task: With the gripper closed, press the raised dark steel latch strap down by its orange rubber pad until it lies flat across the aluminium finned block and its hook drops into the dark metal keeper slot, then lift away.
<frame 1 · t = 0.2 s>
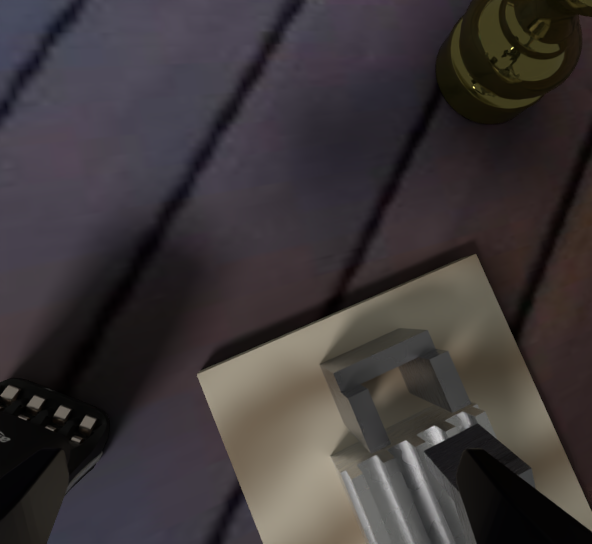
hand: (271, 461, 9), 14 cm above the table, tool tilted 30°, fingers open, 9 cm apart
base board: (417, 496, 23), on the table
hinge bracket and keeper: (457, 539, 19), on the base board, point 4 cm above the table
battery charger: (56, 412, 22), on the table
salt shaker: (480, 78, 27), on the table
finned block: (444, 525, 20), on the base board, point 3 cm above the table
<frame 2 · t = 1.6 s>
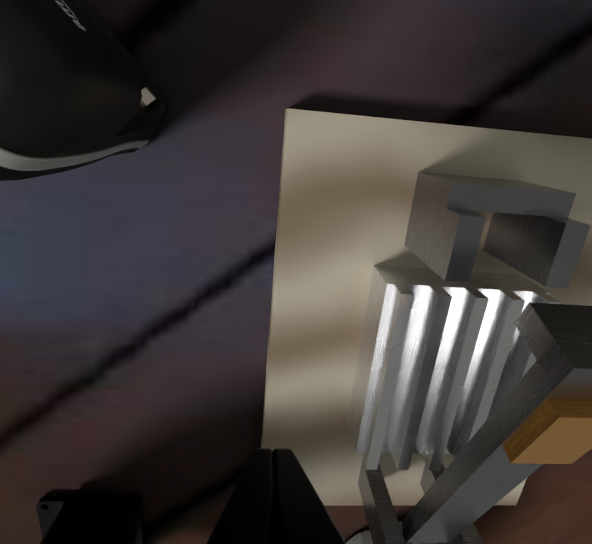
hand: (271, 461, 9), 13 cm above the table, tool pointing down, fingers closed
base board: (418, 338, 23), on the table
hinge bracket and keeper: (450, 386, 19), on the base board, point 4 cm above the table
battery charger: (109, 68, 17), on the table
latch strap: (477, 465, 17), point 8 cm above the table, hinge at 20.0°
finned block: (440, 370, 20), on the base board, point 3 cm above the table
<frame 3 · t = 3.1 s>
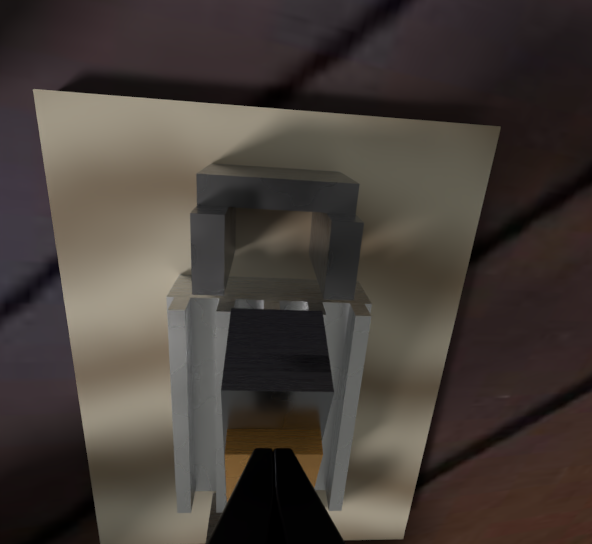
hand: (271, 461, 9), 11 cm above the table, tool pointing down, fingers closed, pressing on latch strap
base board: (266, 355, 21), on the table
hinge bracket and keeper: (265, 415, 16), on the base board, point 4 cm above the table
latch strap: (263, 506, 14), point 7 cm above the table, hinge at 17.5°, touching gripper
finned block: (265, 395, 17), on the base board, point 3 cm above the table
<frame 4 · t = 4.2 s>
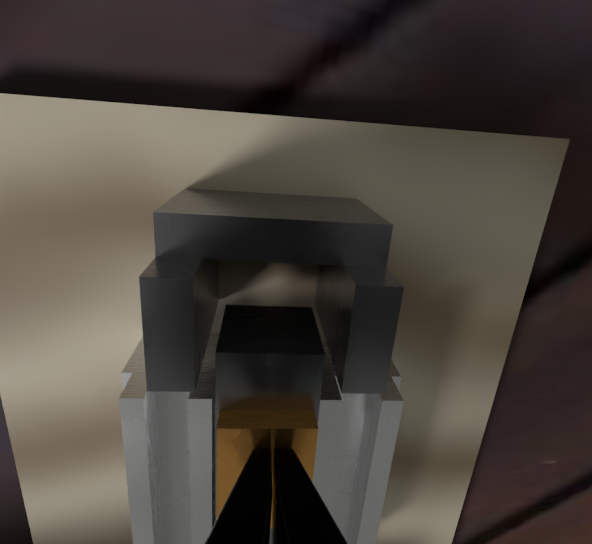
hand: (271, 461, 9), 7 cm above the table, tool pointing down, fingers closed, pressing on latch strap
base board: (260, 420, 16), on the table
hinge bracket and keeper: (258, 520, 12), on the base board, point 4 cm above the table
finned block: (259, 486, 13), on the base board, point 3 cm above the table
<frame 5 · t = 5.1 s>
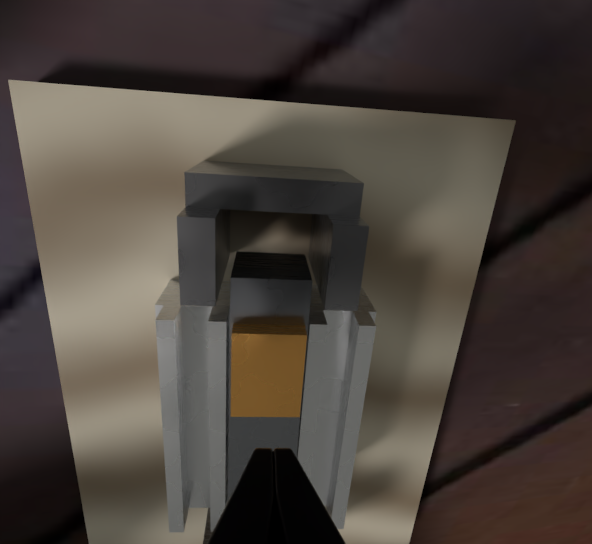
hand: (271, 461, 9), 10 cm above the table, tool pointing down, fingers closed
base board: (263, 363, 19), on the table
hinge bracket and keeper: (262, 429, 15), on the base board, point 4 cm above the table
latch strap: (261, 467, 15), point 5 cm above the table, hinge at -0.3°
finned block: (263, 407, 16), on the base board, point 3 cm above the table
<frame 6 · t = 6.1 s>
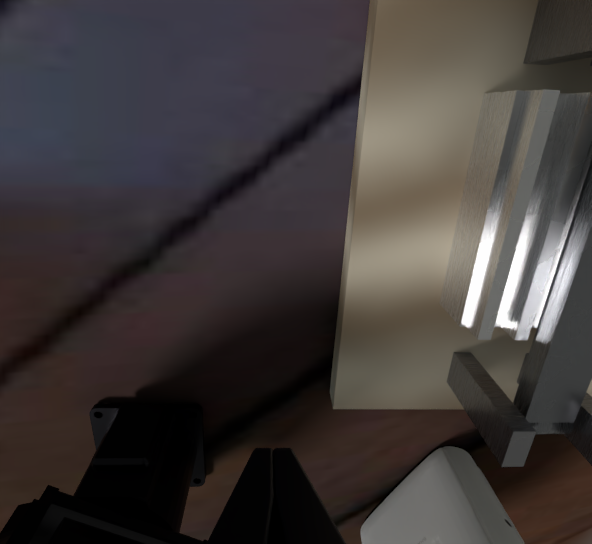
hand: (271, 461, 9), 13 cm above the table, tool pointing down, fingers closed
base board: (521, 205, 20), on the table
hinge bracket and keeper: (583, 231, 16), on the base board, point 4 cm above the table
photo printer: (414, 490, 28), on the table
latch strap: (586, 264, 16), point 5 cm above the table, hinge at -0.3°
finned block: (565, 221, 17), on the base board, point 3 cm above the table
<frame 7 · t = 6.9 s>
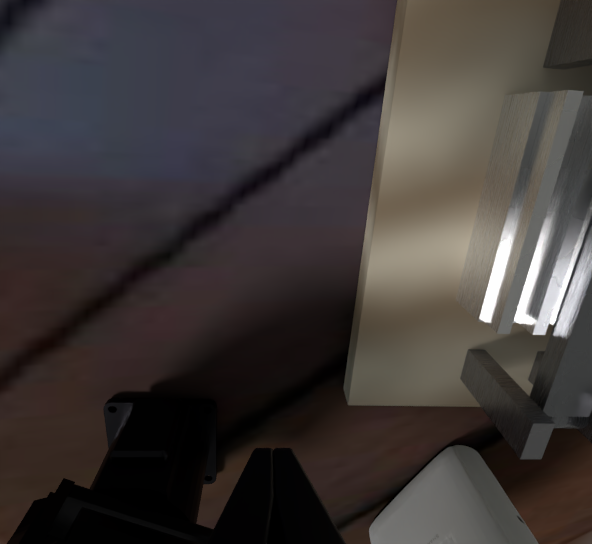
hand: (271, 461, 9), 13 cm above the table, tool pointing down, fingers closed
base board: (535, 205, 21), on the table
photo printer: (423, 490, 28), on the table
finned block: (581, 220, 18), on the base board, point 3 cm above the table
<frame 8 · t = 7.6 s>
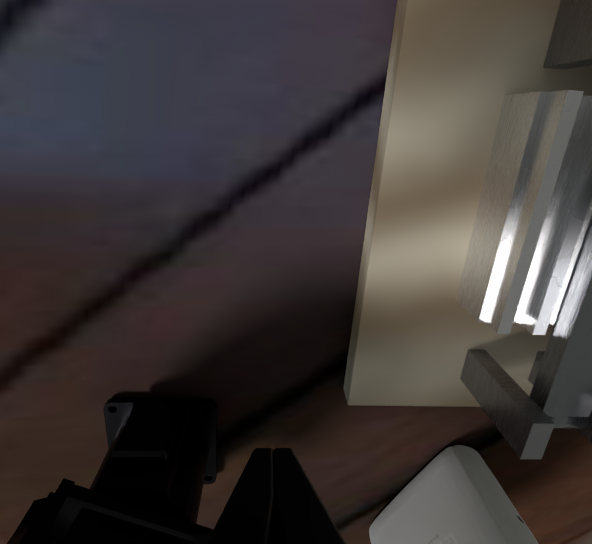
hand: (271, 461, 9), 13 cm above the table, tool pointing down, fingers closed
base board: (535, 205, 21), on the table
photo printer: (423, 490, 28), on the table
finned block: (581, 220, 18), on the base board, point 3 cm above the table
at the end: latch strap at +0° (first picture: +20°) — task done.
